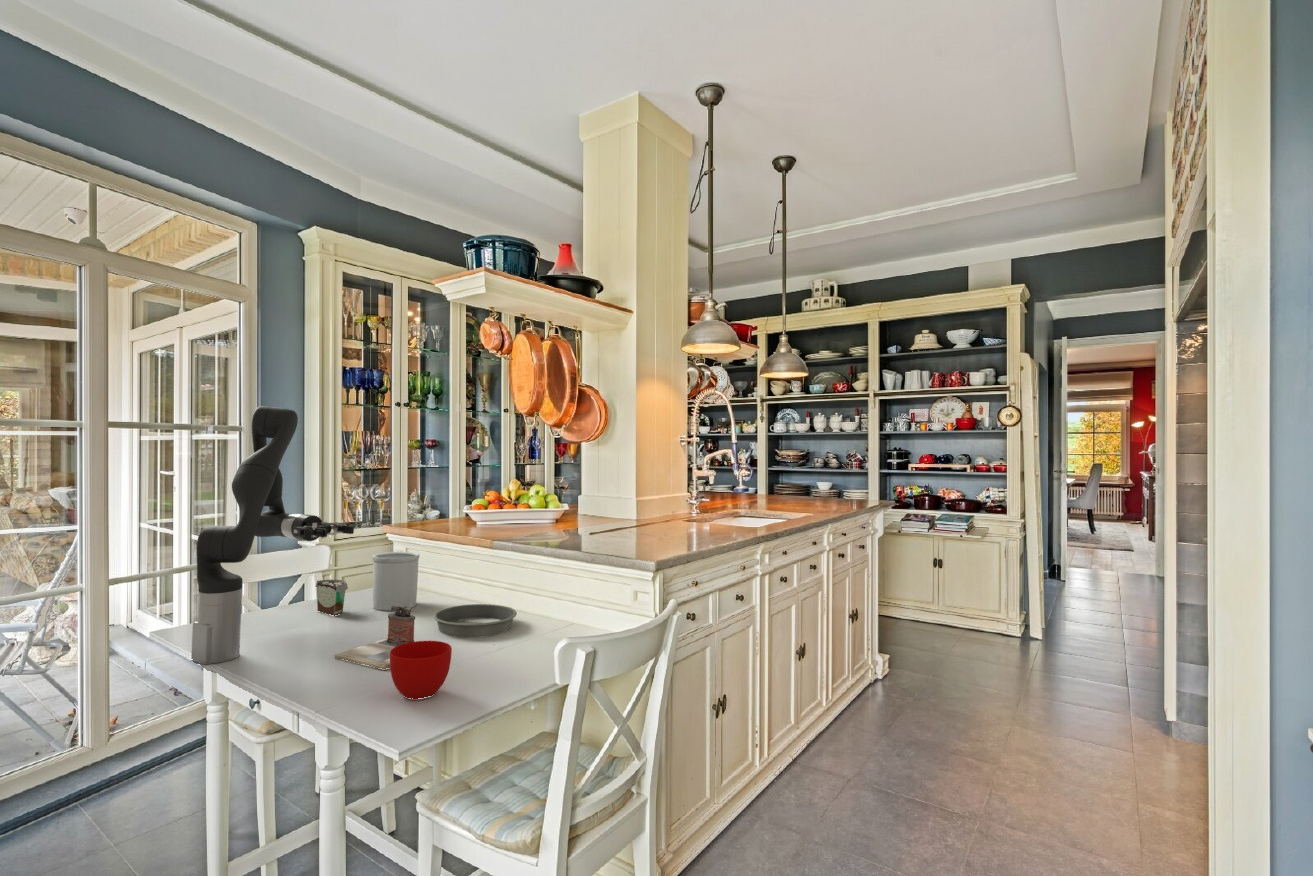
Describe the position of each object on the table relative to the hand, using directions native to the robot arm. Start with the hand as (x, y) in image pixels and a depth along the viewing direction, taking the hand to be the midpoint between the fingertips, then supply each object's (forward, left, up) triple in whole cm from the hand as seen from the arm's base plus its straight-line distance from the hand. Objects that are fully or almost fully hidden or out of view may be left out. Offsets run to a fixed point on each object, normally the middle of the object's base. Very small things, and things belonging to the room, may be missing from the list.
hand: (339, 531), depth 181 cm
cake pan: (+29, -25, -30) cm, 49 cm away
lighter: (+3, -22, -29) cm, 36 cm away
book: (-2, -24, -30) cm, 38 cm away
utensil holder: (+34, +15, -30) cm, 48 cm away
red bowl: (-17, -49, -30) cm, 60 cm away
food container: (+18, +24, -30) cm, 43 cm away
